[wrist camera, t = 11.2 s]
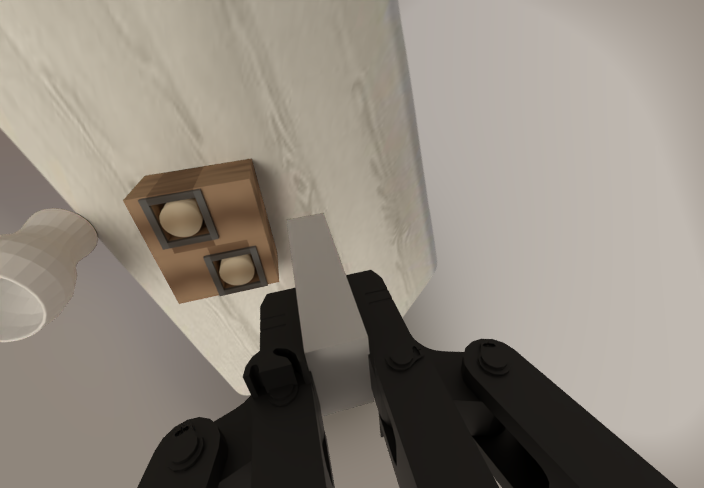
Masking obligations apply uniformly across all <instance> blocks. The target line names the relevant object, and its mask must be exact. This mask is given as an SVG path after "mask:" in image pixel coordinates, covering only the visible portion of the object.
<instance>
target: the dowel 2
mask: <svg viewBox="0 0 704 488" xmlns="http://www.w3.org/2000/svg"><path fill="white" fill-rule="evenodd" d="M254 268H255V264H254V261H253V258H252V255H251V254H246V255H241V256H237V257H232V258H227V259H222V260H221V265H220V271H219V273H220V276H221V278H222V279H223V280H224V281H225V282H226V283H228V284H231V285H243V284H246V283H248V282H249V281H250V280H251V279H252V278H253V276H254Z"/></svg>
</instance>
